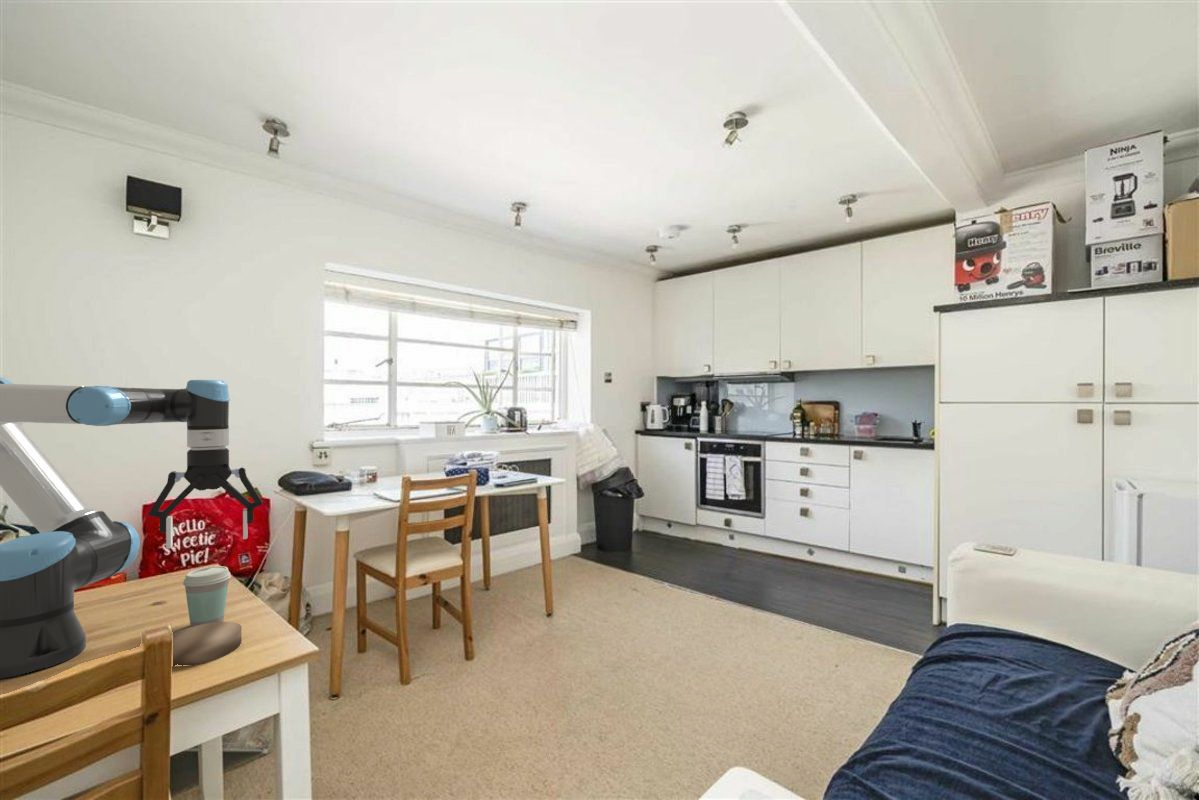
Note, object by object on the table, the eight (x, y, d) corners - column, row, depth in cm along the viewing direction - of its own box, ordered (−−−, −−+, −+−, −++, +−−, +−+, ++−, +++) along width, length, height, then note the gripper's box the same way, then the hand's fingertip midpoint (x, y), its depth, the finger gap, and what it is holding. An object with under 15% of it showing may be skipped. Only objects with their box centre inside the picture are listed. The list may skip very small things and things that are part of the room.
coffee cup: (224, 613, 121) (224, 562, 121) (235, 623, 115) (236, 570, 115) (178, 625, 114) (178, 572, 114) (188, 636, 109) (188, 580, 109)
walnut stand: (145, 671, 94) (145, 655, 94) (178, 640, 107) (178, 626, 107) (227, 660, 99) (228, 645, 99) (250, 632, 111) (250, 618, 111)
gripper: (130, 452, 105) (130, 555, 105) (274, 446, 119) (274, 537, 119) (138, 450, 111) (138, 547, 111) (273, 444, 125) (273, 530, 125)
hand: (208, 542), depth 115 cm, fingers open, 13 cm apart
